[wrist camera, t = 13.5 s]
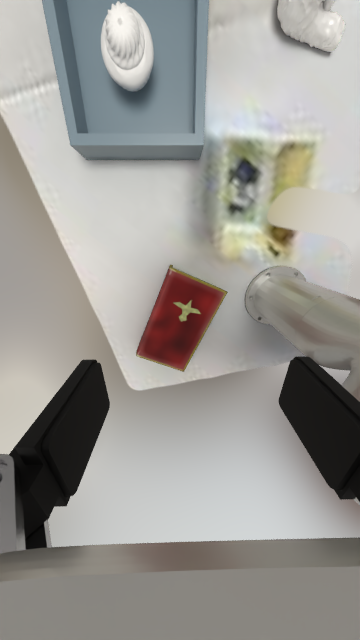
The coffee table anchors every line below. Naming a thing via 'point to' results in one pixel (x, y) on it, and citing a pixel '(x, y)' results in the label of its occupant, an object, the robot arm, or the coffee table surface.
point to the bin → (119, 104)
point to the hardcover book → (179, 319)
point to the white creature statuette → (312, 22)
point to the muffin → (127, 47)
